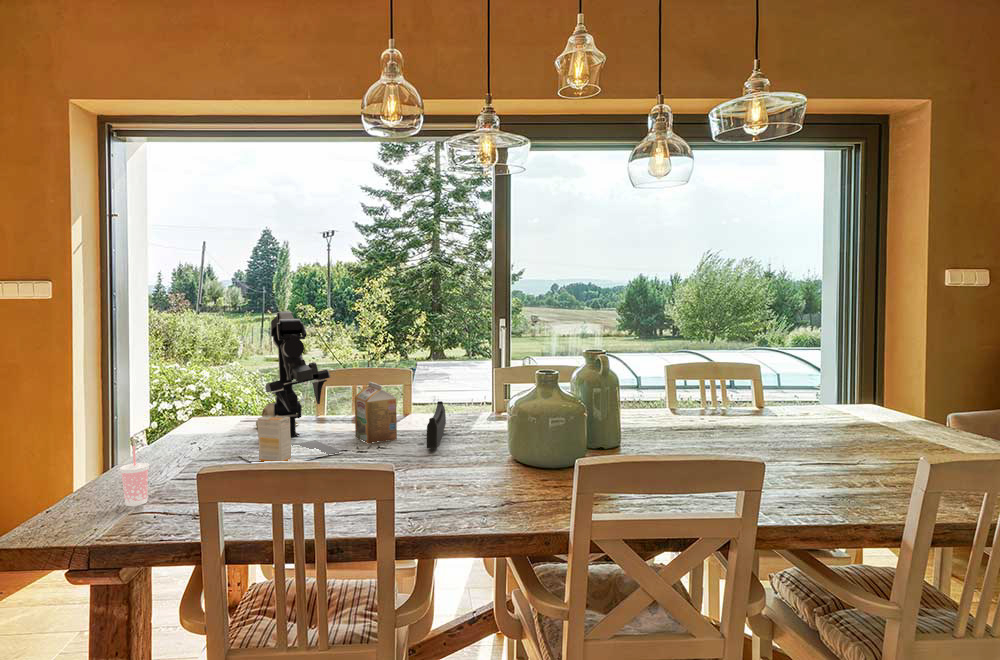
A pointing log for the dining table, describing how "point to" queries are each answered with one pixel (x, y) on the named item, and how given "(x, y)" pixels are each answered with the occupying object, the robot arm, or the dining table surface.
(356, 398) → the milk carton
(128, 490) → the beverage cup
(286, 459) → the supplement box
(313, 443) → the rubber mat
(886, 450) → the dining table surface
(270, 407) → the ceramic model
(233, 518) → the dining table surface
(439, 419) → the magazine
